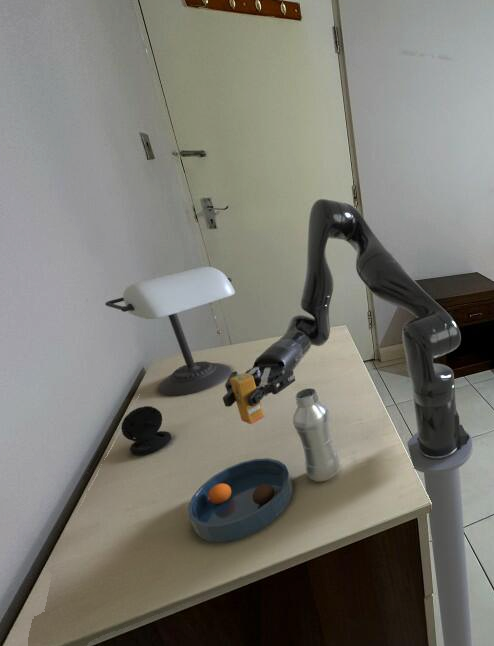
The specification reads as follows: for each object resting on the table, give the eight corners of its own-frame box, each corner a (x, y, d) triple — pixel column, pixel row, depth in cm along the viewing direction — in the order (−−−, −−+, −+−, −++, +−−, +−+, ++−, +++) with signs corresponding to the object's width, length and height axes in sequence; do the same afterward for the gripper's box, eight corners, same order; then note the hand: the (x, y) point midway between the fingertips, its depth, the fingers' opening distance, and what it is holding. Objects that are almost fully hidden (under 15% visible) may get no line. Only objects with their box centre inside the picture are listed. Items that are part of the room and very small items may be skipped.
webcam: (157, 432, 97) (142, 397, 93) (180, 436, 95) (166, 401, 91) (122, 453, 90) (104, 417, 86) (146, 459, 88) (129, 422, 84)
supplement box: (266, 416, 83) (254, 375, 80) (250, 425, 81) (237, 383, 77) (256, 411, 85) (244, 371, 81) (241, 420, 82) (227, 379, 78)
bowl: (295, 464, 86) (291, 450, 84) (288, 524, 72) (283, 508, 70) (208, 486, 81) (202, 471, 79) (182, 555, 67) (174, 539, 65)
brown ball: (271, 481, 78) (261, 479, 75) (281, 494, 77) (272, 492, 74) (255, 496, 77) (244, 494, 74) (265, 509, 76) (255, 508, 73)
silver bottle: (348, 465, 85) (331, 386, 77) (327, 489, 79) (306, 406, 72) (323, 459, 87) (305, 381, 79) (301, 482, 81) (278, 400, 73)
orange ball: (230, 504, 77) (228, 486, 79) (233, 495, 75) (231, 478, 77) (208, 509, 75) (206, 491, 76) (210, 501, 73) (208, 482, 75)
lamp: (177, 416, 103) (127, 293, 90) (128, 394, 113) (76, 280, 99) (269, 369, 125) (240, 264, 111) (221, 354, 135) (189, 256, 121)
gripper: (245, 346, 92) (195, 387, 76) (306, 344, 92) (269, 385, 76) (254, 374, 95) (207, 419, 79) (313, 372, 95) (278, 417, 79)
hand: (238, 402), depth 78 cm, fingers closed on supplement box, 4 cm apart
